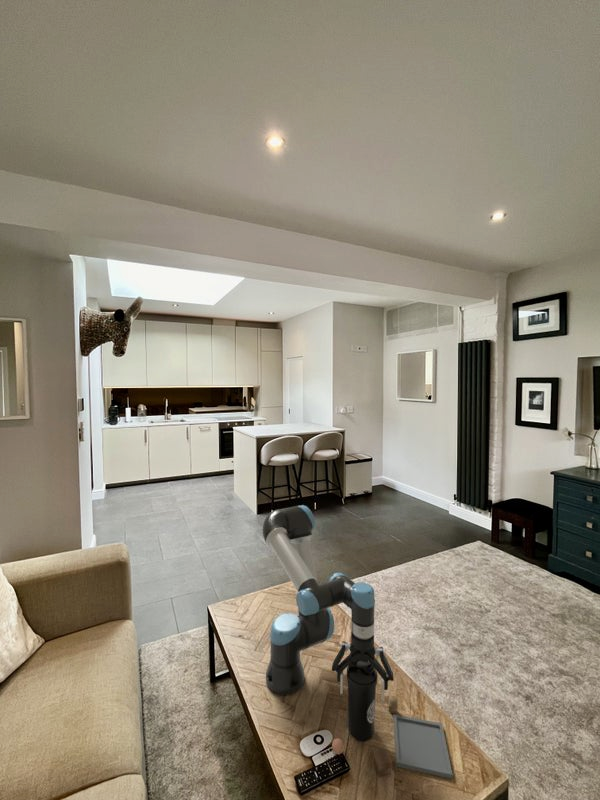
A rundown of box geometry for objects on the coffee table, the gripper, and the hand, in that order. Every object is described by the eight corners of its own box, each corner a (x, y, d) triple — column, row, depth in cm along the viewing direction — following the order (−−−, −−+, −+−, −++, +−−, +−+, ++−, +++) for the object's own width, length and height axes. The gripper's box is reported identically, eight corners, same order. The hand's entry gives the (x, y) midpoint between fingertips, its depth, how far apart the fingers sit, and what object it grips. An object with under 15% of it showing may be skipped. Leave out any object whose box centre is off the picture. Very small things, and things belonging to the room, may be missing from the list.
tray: (396, 766, 106) (396, 762, 106) (393, 717, 122) (393, 713, 122) (452, 778, 103) (452, 774, 103) (441, 727, 118) (441, 723, 118)
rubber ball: (331, 756, 109) (331, 745, 109) (332, 744, 112) (332, 733, 112) (342, 758, 108) (343, 747, 108) (343, 747, 112) (343, 736, 111)
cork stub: (388, 714, 123) (389, 702, 123) (388, 706, 126) (388, 694, 126) (397, 715, 122) (397, 703, 122) (397, 708, 125) (397, 696, 125)
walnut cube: (379, 777, 103) (379, 764, 103) (374, 762, 107) (374, 750, 107) (392, 775, 104) (392, 762, 104) (386, 761, 108) (387, 748, 108)
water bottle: (369, 750, 111) (371, 680, 110) (340, 733, 116) (341, 666, 115) (380, 724, 119) (381, 659, 118) (352, 709, 125) (353, 647, 124)
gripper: (324, 634, 115) (323, 696, 116) (402, 646, 110) (401, 711, 111) (327, 619, 122) (326, 678, 123) (400, 630, 117) (399, 691, 118)
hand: (362, 694), depth 117 cm, fingers open, 13 cm apart
